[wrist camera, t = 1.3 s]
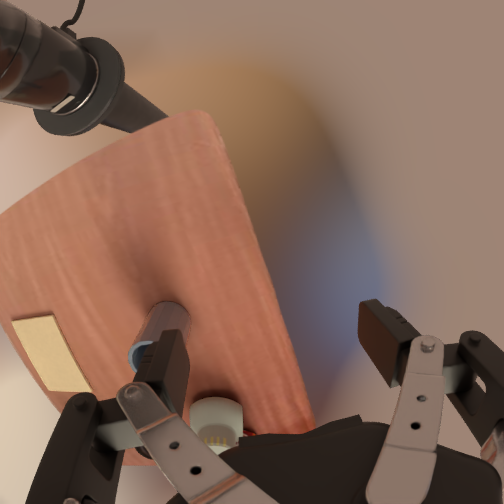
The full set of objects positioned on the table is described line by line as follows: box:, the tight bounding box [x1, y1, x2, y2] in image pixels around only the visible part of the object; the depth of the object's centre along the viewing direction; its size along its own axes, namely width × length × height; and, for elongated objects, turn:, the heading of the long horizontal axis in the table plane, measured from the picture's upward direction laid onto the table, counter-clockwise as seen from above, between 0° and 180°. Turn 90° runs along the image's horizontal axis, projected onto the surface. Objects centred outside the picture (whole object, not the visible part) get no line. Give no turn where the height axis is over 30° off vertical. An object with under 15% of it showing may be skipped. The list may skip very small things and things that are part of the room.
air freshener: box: [190, 397, 243, 455], centre depth 40 cm, size 11×8×10 cm
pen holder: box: [128, 302, 191, 373], centre depth 34 cm, size 6×6×10 cm
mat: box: [11, 314, 93, 392], centre depth 40 cm, size 16×12×1 cm
